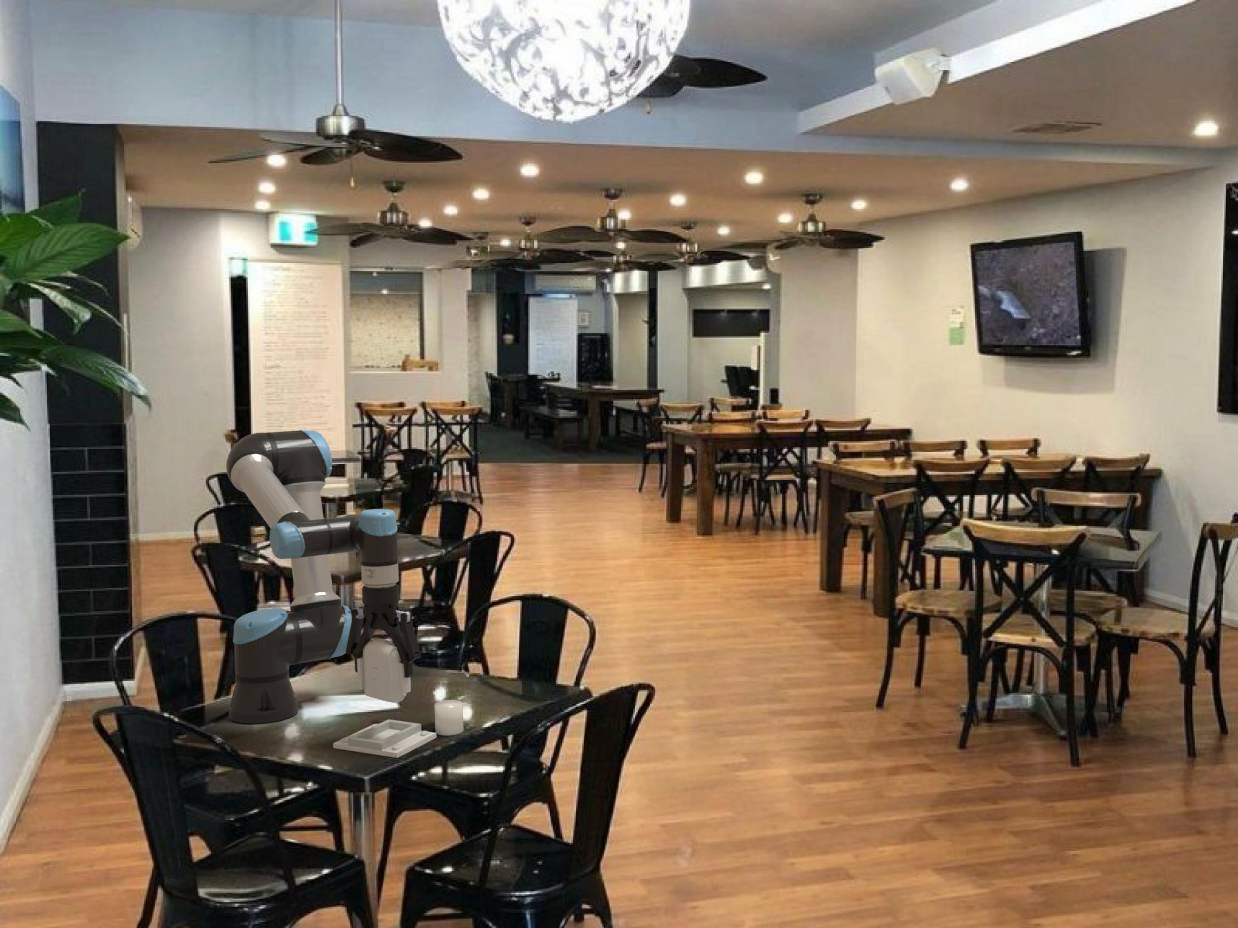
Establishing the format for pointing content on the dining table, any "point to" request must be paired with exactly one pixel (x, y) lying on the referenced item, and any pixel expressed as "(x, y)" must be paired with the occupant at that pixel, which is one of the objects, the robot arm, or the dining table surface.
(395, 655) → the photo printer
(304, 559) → the robot arm
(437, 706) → the white rounded cylinder
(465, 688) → the dining table surface
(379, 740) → the dock plate
